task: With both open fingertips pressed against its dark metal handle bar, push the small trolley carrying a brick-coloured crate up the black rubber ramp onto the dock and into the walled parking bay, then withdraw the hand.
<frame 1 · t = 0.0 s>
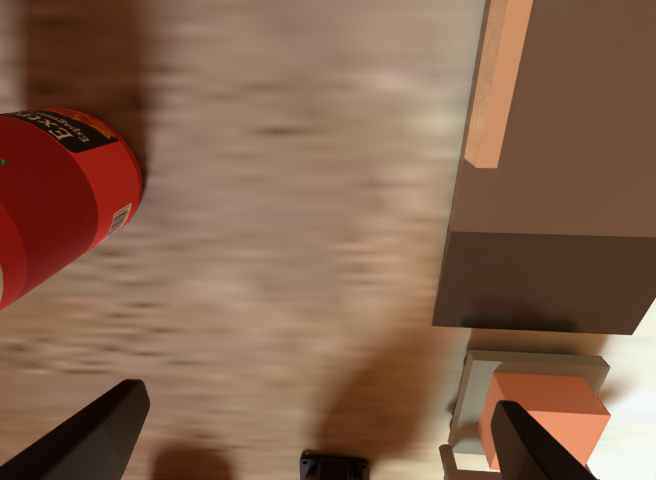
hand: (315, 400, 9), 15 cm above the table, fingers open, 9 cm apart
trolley: (511, 389, 28), on the table
canned food: (90, 171, 23), on the table
dock: (575, 190, 21), on the table
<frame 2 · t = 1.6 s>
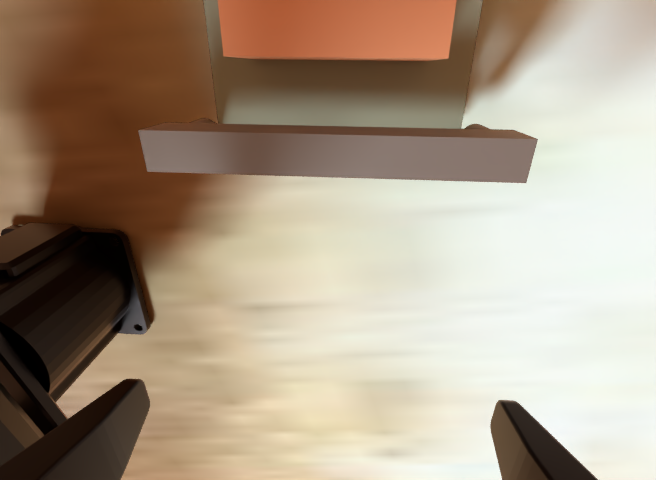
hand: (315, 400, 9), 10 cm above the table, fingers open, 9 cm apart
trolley: (342, 1, 13), on the table
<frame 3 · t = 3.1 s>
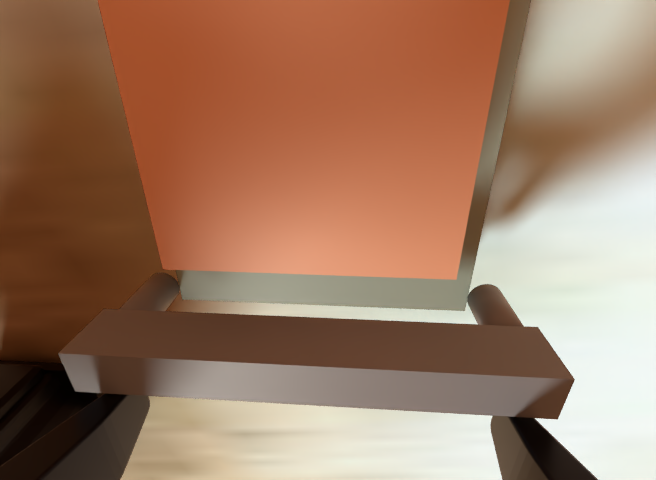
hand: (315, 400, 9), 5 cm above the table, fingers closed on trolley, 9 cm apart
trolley: (324, 130, 11), on the table, touching gripper
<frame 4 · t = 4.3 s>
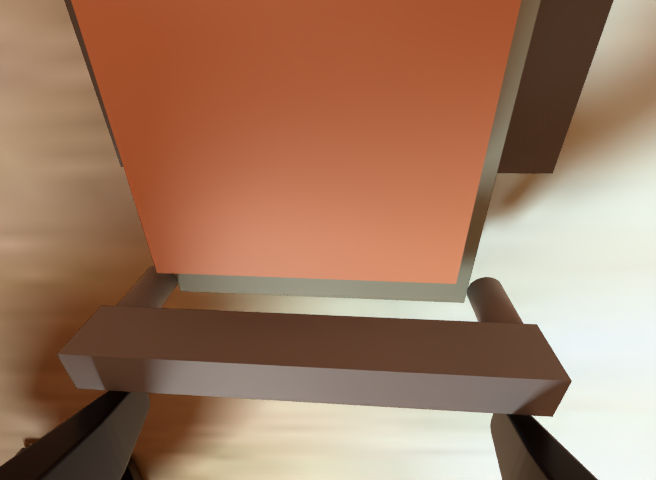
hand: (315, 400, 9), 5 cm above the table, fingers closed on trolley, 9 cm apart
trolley: (322, 118, 10), on the table, touching gripper
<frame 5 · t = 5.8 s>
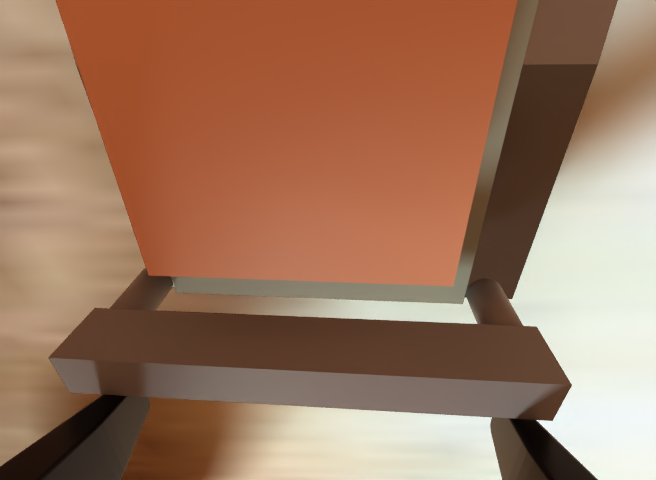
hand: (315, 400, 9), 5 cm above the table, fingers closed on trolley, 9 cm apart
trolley: (318, 117, 10), point 1 cm above the table, touching dock, gripper
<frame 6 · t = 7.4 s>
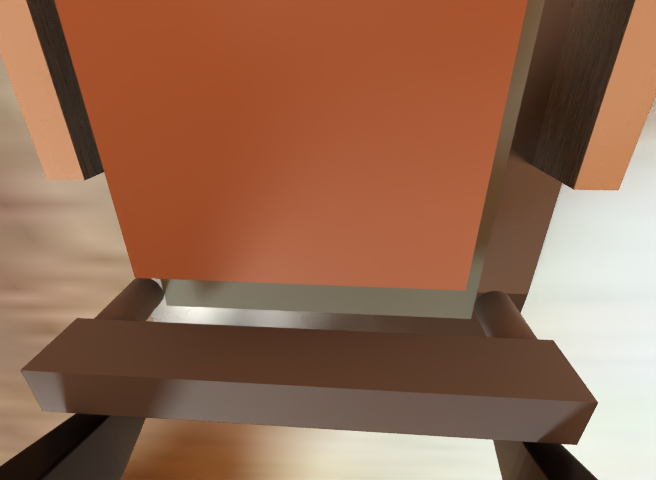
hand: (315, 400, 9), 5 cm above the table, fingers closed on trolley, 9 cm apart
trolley: (319, 124, 10), point 1 cm above the table, touching dock, gripper
dock: (327, 213, 12), on the table
when the fingers open (5 cm above the table, at t = 7.9 s): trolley stays where it is, resting on dock.
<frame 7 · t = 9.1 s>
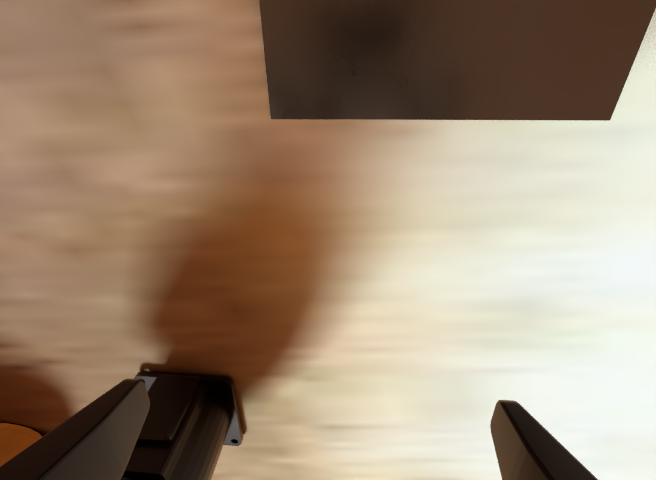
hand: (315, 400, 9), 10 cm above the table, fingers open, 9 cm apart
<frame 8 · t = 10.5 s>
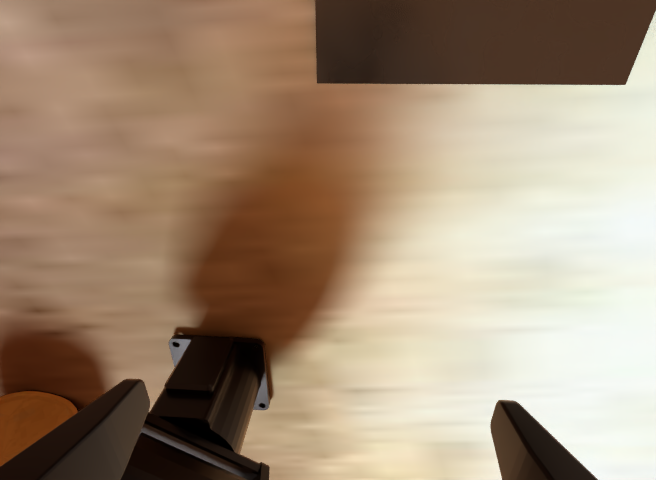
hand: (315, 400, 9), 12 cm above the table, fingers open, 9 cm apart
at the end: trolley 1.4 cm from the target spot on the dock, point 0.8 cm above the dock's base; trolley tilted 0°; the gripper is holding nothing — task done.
